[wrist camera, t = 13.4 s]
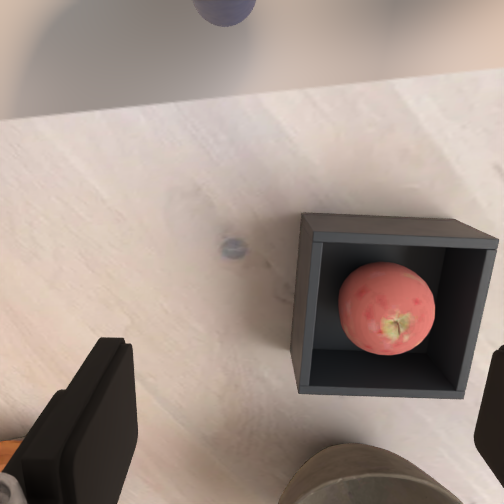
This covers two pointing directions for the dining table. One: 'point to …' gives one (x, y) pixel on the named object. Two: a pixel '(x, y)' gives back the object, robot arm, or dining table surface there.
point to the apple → (385, 308)
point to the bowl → (363, 479)
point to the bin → (412, 257)
